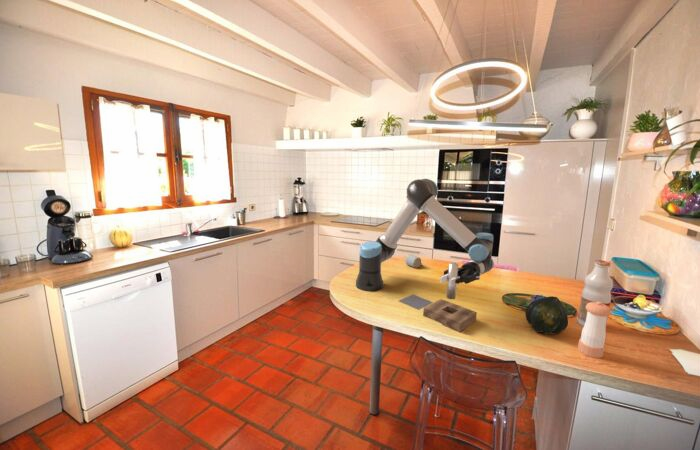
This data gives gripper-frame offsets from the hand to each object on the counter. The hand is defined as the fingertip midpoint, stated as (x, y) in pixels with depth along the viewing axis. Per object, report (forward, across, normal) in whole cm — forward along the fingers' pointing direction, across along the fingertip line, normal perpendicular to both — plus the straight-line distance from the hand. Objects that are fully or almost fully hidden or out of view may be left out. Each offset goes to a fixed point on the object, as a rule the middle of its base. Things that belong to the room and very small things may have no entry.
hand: (445, 281), depth 124 cm
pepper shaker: (-22, -46, -18) cm, 54 cm away
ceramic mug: (-53, +52, -18) cm, 76 cm away
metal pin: (-5, 0, -9) cm, 10 cm away
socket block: (-5, 0, -18) cm, 19 cm away
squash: (-27, -30, -18) cm, 45 cm away
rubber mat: (-7, +19, -18) cm, 27 cm away
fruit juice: (-46, -42, -18) cm, 65 cm away
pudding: (-49, -22, -19) cm, 57 cm away
